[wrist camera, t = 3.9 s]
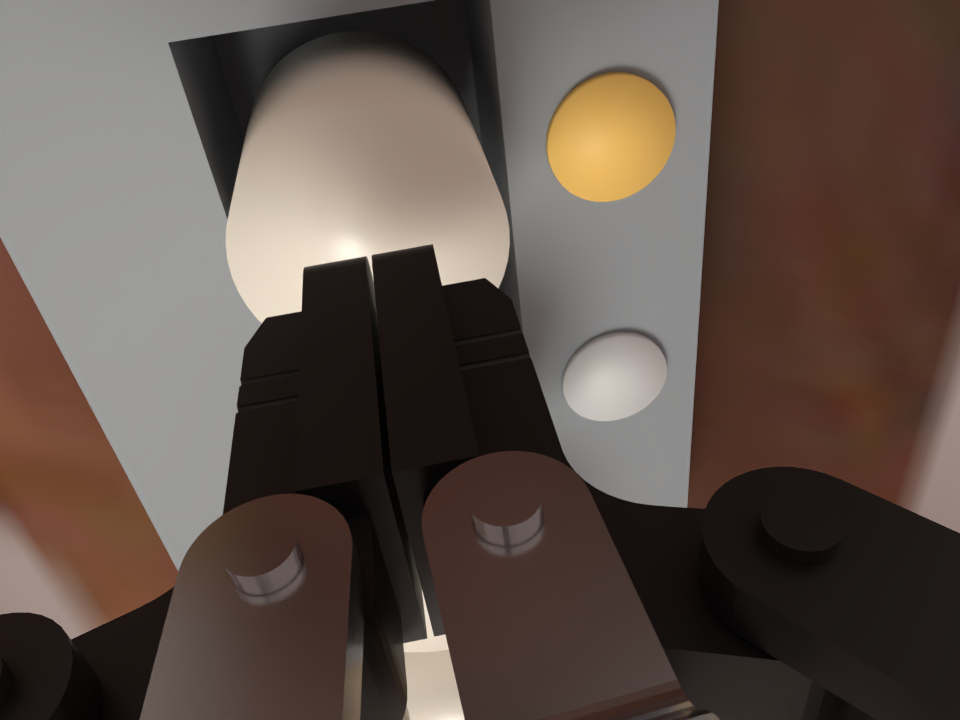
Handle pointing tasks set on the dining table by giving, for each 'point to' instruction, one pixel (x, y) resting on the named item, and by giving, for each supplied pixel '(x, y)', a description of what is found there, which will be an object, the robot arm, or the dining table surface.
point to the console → (211, 180)
